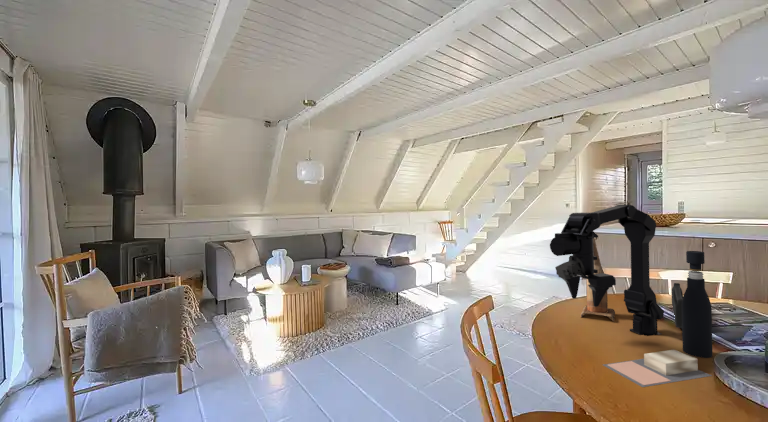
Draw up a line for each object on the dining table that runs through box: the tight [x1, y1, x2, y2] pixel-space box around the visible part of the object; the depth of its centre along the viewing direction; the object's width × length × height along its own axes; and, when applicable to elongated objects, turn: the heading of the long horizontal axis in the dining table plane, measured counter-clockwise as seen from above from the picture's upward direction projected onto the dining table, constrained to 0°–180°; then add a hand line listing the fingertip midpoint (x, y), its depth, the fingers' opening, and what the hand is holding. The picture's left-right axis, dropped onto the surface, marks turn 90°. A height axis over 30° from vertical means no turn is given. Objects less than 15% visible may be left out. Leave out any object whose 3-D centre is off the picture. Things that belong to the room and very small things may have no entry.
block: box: [643, 349, 699, 375], centre depth 92 cm, size 10×6×3 cm, turn 101°
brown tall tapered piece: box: [580, 238, 616, 323], centre depth 135 cm, size 11×12×32 cm
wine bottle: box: [681, 250, 713, 359], centre depth 99 cm, size 6×6×30 cm
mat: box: [602, 358, 713, 388], centre depth 91 cm, size 21×12×1 cm, turn 101°
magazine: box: [671, 282, 684, 329], centre depth 128 cm, size 17×3×30 cm
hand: (584, 302), depth 108 cm, fingers open, 9 cm apart
